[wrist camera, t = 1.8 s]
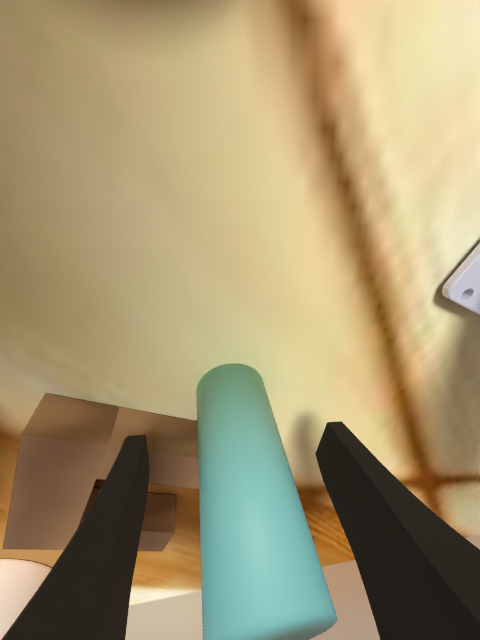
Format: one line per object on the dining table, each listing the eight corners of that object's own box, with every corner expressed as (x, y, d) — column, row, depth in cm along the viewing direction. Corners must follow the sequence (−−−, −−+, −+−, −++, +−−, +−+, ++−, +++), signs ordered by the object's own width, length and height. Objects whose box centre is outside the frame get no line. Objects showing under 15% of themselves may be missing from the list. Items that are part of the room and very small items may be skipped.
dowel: (275, 373, 13) (363, 607, 6) (245, 417, 14) (293, 650, 8) (212, 356, 12) (240, 616, 5) (186, 405, 13) (183, 665, 7)
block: (219, 425, 14) (223, 461, 13) (164, 514, 18) (161, 551, 17) (45, 393, 12) (21, 434, 10) (23, 505, 15) (2, 548, 14)
